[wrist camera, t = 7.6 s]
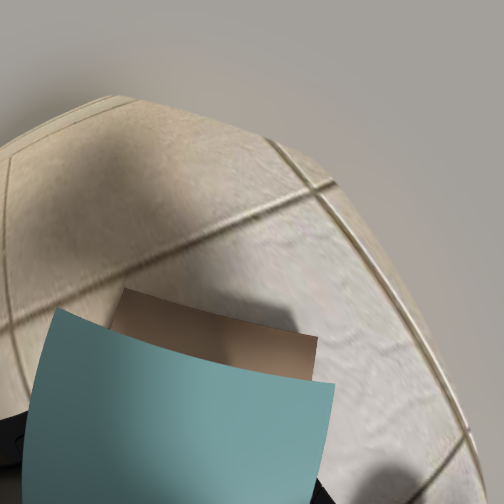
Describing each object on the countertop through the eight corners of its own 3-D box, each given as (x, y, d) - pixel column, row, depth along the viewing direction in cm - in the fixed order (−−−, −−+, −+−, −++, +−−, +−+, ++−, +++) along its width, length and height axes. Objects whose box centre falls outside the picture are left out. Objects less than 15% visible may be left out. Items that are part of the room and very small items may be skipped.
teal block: (227, 466, 12) (274, 594, 2) (142, 444, 12) (23, 519, 1) (244, 390, 14) (335, 384, 4) (160, 368, 14) (56, 307, 4)
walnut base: (270, 503, 14) (279, 517, 11) (93, 458, 14) (77, 465, 11) (304, 344, 21) (317, 336, 18) (134, 301, 20) (124, 287, 18)
